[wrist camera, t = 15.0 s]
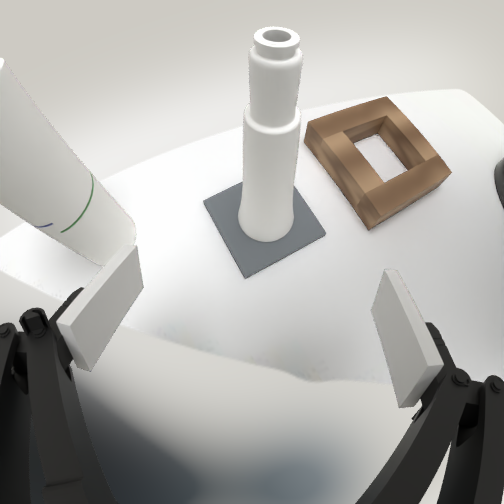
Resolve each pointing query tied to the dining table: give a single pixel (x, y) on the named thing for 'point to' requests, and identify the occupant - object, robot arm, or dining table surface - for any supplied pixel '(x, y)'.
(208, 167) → the dining table surface
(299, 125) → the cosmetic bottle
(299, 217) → the mat
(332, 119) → the collar
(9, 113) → the cylindrical container
